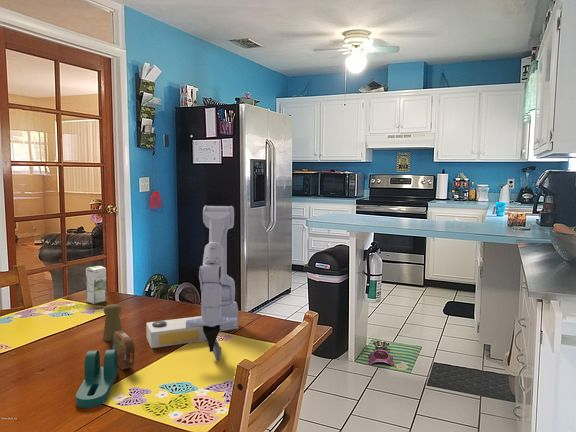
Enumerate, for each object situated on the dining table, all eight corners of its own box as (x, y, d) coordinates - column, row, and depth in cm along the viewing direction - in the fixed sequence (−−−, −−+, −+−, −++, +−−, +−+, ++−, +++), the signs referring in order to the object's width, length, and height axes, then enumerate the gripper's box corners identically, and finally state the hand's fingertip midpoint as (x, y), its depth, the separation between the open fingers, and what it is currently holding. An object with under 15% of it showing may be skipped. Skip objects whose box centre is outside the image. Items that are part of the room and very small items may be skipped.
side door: (207, 340, 147) (207, 326, 147) (212, 339, 148) (212, 326, 147) (216, 360, 132) (216, 345, 131) (221, 360, 132) (221, 345, 132)
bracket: (91, 375, 122) (90, 346, 121) (117, 373, 123) (117, 345, 123) (72, 409, 105) (71, 376, 104) (103, 407, 106) (102, 374, 105)
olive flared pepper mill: (116, 341, 146) (115, 308, 145) (99, 340, 147) (98, 306, 146) (126, 335, 151) (125, 302, 150) (110, 333, 153) (109, 301, 152)
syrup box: (98, 299, 193) (97, 265, 192) (107, 301, 190) (106, 267, 189) (86, 302, 189) (85, 267, 187) (94, 304, 185) (93, 269, 184)
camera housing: (200, 330, 157) (200, 314, 157) (209, 340, 148) (209, 323, 147) (146, 337, 150) (146, 320, 149) (151, 349, 140) (151, 331, 140)
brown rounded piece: (110, 355, 135) (109, 328, 134) (120, 353, 137) (120, 326, 136) (125, 374, 123) (124, 344, 122) (136, 371, 125) (136, 341, 124)
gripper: (185, 310, 127) (185, 357, 128) (237, 307, 130) (237, 354, 131) (185, 303, 134) (185, 348, 135) (235, 301, 137) (235, 345, 138)
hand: (211, 350), depth 133 cm, fingers closed
